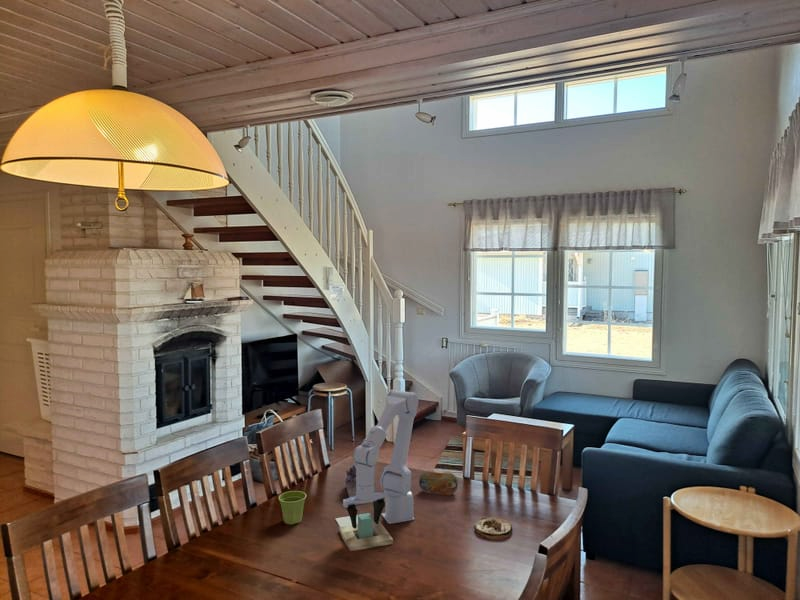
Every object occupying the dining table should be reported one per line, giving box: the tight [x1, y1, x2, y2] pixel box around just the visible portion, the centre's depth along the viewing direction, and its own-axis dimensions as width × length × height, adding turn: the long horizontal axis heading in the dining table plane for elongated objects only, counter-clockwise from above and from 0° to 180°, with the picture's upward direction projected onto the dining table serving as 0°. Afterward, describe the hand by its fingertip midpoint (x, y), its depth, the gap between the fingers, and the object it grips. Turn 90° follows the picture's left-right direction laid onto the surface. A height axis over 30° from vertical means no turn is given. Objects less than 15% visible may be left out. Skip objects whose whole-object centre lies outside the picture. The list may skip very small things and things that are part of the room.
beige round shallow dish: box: [473, 517, 513, 540], centre depth 184 cm, size 15×15×4 cm
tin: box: [418, 470, 459, 496], centre depth 216 cm, size 15×3×8 cm, turn 73°
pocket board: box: [338, 520, 394, 552], centre depth 180 cm, size 14×14×1 cm
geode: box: [345, 465, 377, 498], centre depth 217 cm, size 20×12×10 cm, turn 15°
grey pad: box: [335, 514, 359, 528], centre depth 190 cm, size 8×8×1 cm
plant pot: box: [278, 490, 307, 525], centre depth 191 cm, size 9×9×9 cm
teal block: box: [357, 512, 374, 539], centre depth 180 cm, size 4×4×7 cm
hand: (365, 524), depth 179 cm, fingers open, 7 cm apart
